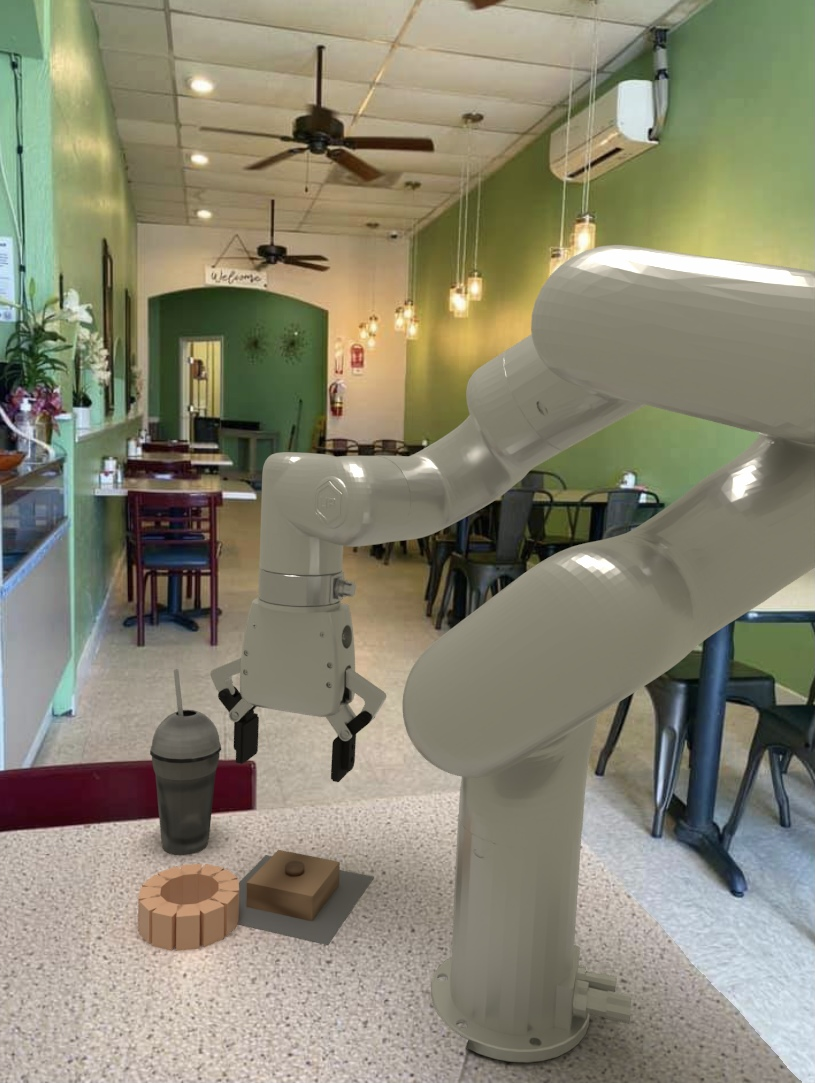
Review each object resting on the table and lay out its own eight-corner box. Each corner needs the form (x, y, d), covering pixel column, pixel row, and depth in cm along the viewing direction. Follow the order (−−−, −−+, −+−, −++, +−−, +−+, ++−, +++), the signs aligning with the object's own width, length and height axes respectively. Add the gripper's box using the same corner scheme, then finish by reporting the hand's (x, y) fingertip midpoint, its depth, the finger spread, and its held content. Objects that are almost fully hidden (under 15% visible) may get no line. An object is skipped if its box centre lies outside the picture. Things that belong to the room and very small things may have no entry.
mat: (373, 886, 82) (374, 876, 82) (327, 955, 71) (328, 944, 71) (265, 864, 86) (266, 855, 85) (205, 926, 74) (205, 916, 74)
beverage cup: (201, 874, 83) (203, 683, 81) (136, 865, 84) (136, 676, 82) (231, 841, 90) (233, 664, 88) (170, 833, 91) (171, 658, 89)
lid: (339, 884, 80) (339, 855, 80) (311, 921, 74) (312, 890, 74) (277, 872, 82) (278, 843, 82) (246, 906, 76) (246, 876, 75)
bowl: (255, 914, 76) (255, 874, 76) (206, 969, 68) (206, 925, 68) (174, 896, 79) (174, 857, 78) (118, 947, 71) (118, 904, 70)
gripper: (402, 592, 76) (392, 768, 78) (235, 573, 81) (230, 739, 83) (375, 607, 69) (365, 800, 71) (194, 584, 74) (190, 766, 76)
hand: (292, 767), depth 77 cm, fingers open, 9 cm apart
